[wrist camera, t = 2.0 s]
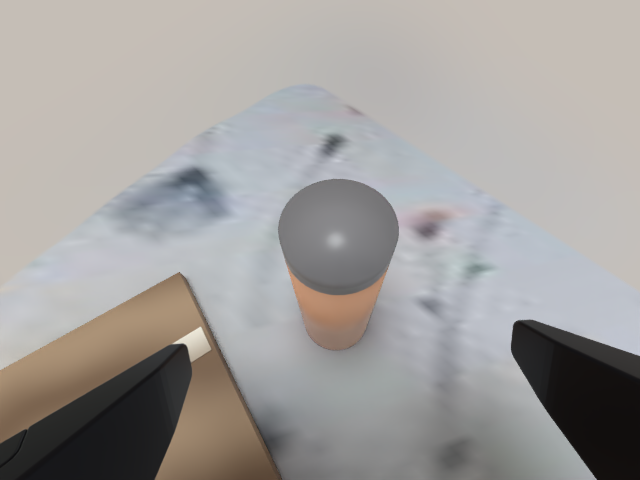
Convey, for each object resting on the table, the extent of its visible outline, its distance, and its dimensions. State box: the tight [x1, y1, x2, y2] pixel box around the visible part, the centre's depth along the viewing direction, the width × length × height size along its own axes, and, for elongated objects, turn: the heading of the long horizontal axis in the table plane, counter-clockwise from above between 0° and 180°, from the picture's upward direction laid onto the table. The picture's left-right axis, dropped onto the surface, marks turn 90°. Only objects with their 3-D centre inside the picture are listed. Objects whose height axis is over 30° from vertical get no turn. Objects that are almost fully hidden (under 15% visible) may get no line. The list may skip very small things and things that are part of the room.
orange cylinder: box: [278, 179, 399, 350], centre depth 15 cm, size 4×4×11 cm
